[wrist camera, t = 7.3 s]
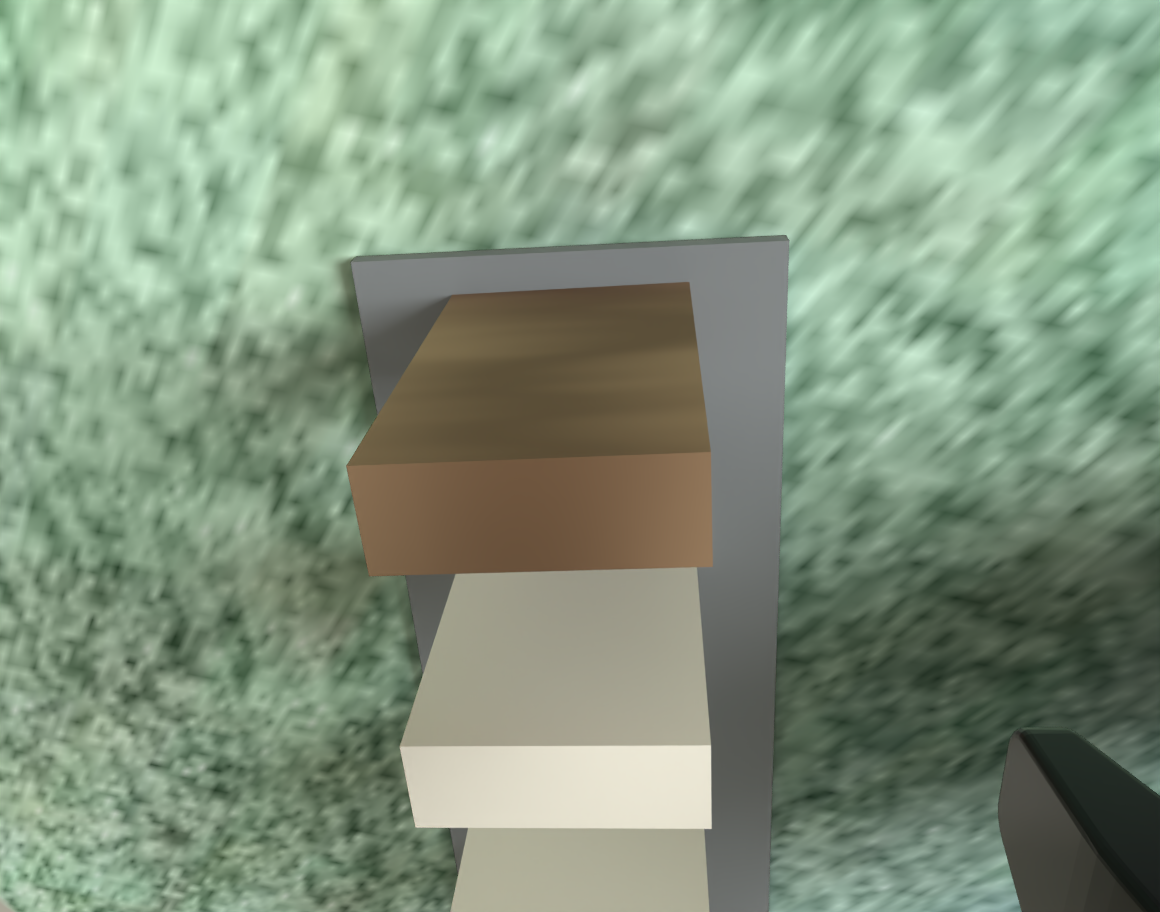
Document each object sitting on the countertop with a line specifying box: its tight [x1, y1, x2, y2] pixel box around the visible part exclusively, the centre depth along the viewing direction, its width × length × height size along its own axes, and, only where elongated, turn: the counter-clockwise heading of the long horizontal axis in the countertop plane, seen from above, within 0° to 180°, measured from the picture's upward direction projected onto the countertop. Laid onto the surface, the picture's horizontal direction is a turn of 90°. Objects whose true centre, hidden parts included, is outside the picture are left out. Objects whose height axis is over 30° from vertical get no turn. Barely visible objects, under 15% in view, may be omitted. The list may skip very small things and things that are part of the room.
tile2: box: [400, 567, 712, 829], centre depth 17 cm, size 4×2×7 cm, turn 94°
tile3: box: [450, 828, 709, 912], centre depth 19 cm, size 4×2×7 cm, turn 94°
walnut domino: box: [346, 282, 713, 576], centre depth 15 cm, size 4×2×7 cm, turn 94°
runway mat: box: [351, 235, 789, 912], centre depth 23 cm, size 8×23×1 cm, turn 4°
